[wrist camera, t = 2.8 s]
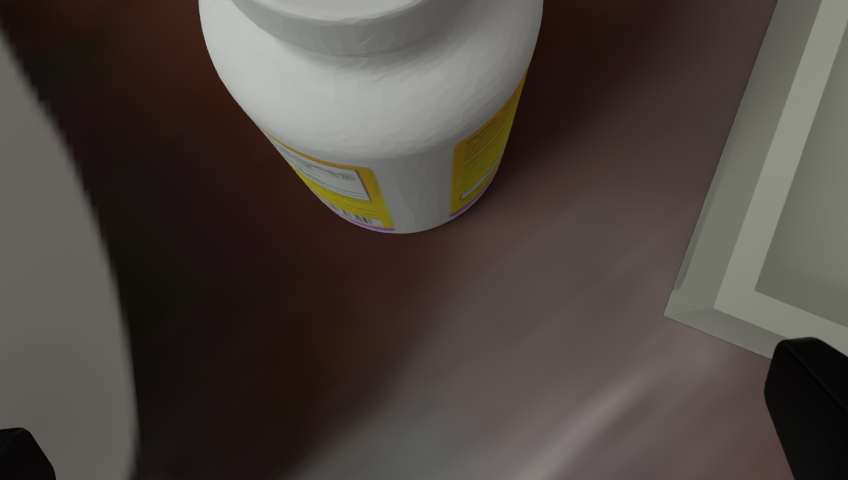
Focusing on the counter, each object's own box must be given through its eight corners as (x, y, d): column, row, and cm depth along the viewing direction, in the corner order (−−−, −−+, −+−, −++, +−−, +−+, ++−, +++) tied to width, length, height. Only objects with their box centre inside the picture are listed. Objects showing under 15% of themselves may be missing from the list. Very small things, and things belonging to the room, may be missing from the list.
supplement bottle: (483, 22, 23) (537, -371, 11) (521, 218, 22) (630, 44, 10) (282, 56, 23) (93, -297, 11) (311, 253, 22) (140, 126, 10)
